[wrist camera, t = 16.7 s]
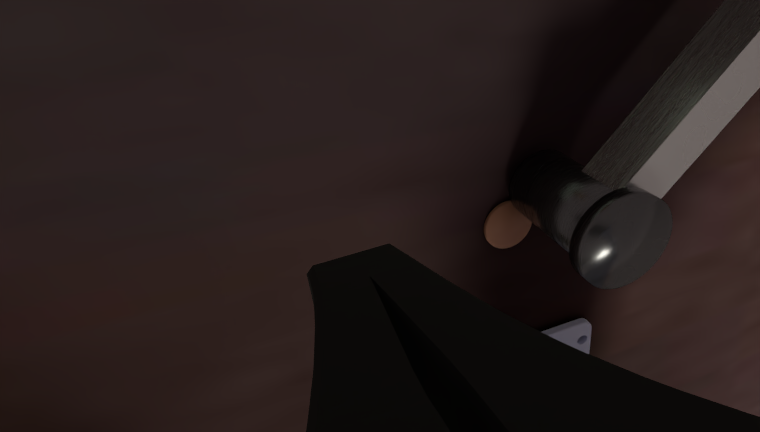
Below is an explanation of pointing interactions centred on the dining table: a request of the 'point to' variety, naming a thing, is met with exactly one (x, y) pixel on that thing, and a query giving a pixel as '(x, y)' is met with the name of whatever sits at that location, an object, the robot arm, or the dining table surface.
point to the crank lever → (644, 155)
